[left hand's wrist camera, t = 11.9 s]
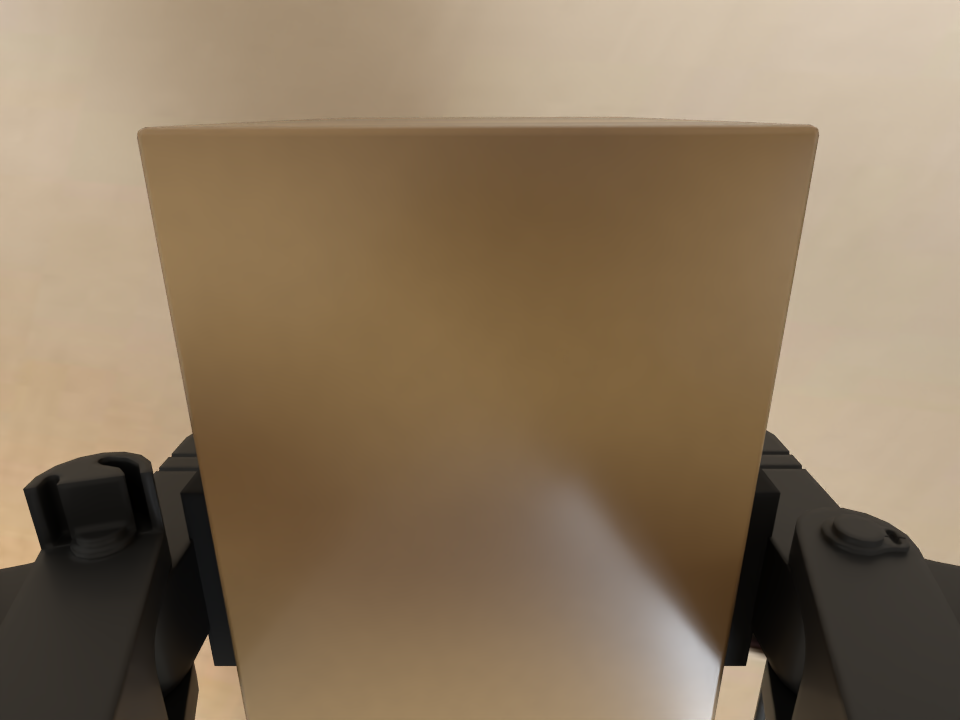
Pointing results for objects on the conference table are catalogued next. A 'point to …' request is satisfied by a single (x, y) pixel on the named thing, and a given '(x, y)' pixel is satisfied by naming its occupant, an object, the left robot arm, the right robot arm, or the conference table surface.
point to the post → (479, 401)
